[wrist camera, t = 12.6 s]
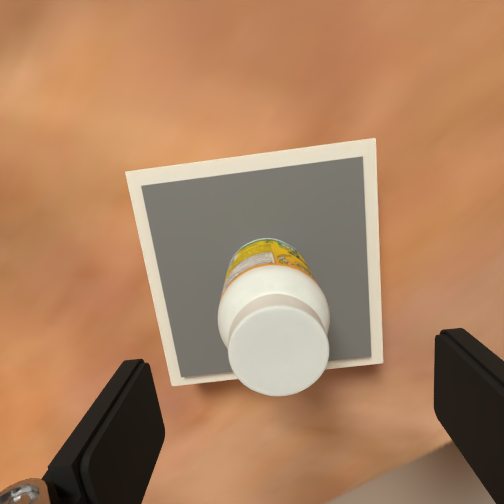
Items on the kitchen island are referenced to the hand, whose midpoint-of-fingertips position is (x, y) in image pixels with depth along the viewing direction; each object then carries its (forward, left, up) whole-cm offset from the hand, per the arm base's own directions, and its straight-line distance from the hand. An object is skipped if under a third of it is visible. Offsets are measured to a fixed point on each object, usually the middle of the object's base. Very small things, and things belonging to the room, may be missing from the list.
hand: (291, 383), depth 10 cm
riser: (+1, 0, -17) cm, 17 cm away
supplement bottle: (0, 0, -12) cm, 12 cm away
